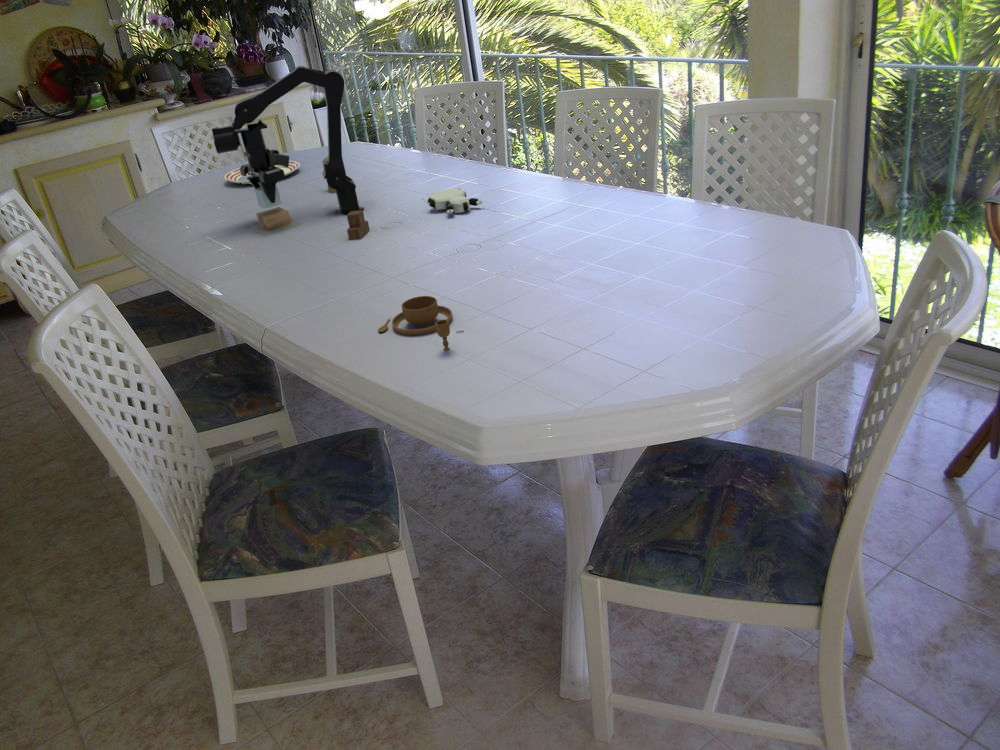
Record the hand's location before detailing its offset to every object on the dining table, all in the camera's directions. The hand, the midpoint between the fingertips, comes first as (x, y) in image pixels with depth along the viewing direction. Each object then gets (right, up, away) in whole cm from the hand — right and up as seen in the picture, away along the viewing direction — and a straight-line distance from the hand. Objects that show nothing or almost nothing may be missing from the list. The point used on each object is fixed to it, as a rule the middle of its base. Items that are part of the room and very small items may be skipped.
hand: (269, 201), depth 235 cm
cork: (+13, +10, +33) cm, 37 cm away
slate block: (0, -1, 0) cm, 1 cm away
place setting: (+51, -42, -78) cm, 102 cm away
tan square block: (+1, -6, +3) cm, 7 cm away
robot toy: (+54, -4, -5) cm, 54 cm away
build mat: (0, -7, +3) cm, 7 cm away
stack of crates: (+30, -13, -15) cm, 36 cm away
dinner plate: (-21, +22, +66) cm, 73 cm away
